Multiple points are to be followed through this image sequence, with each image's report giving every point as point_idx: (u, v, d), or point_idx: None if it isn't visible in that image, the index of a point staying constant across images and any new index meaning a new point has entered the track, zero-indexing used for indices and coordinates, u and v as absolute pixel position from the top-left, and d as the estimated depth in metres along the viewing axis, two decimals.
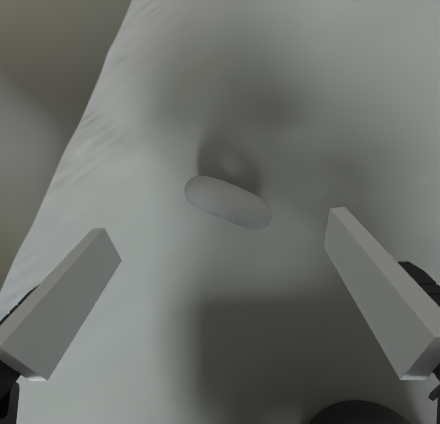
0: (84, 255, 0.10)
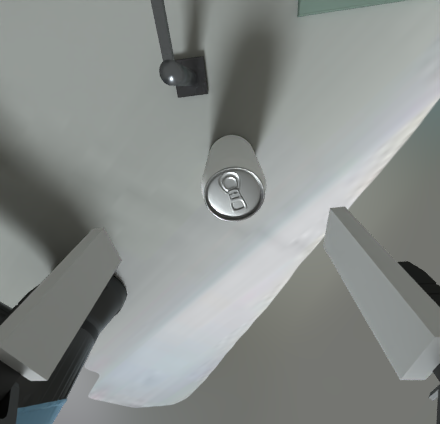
0: (84, 255, 0.10)
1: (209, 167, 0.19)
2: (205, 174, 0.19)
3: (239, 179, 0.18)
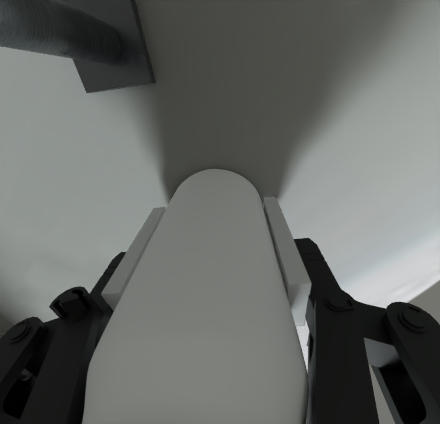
0: (155, 228, 0.12)
1: (102, 344, 0.05)
2: (90, 366, 0.05)
3: None
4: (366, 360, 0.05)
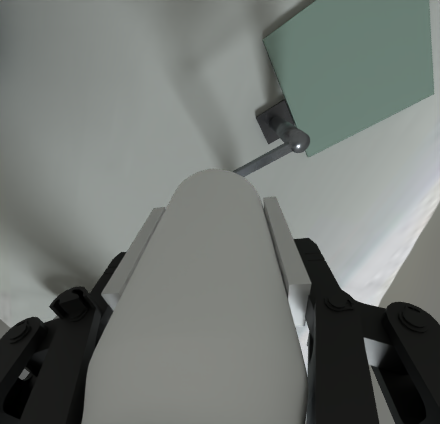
0: (155, 228, 0.12)
1: (101, 345, 0.05)
2: (89, 366, 0.05)
3: None
4: (366, 360, 0.05)
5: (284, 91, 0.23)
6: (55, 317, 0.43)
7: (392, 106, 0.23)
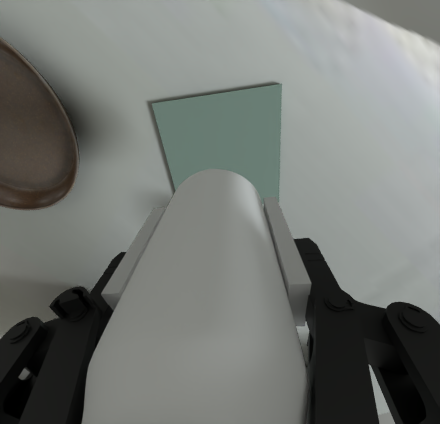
0: (155, 228, 0.12)
1: (101, 345, 0.05)
2: (89, 367, 0.05)
3: None
4: (366, 360, 0.05)
5: None
6: None
7: (272, 126, 0.23)
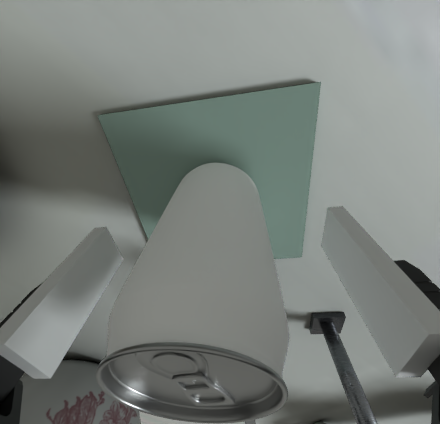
0: (86, 254, 0.10)
1: (121, 296, 0.06)
2: (111, 314, 0.07)
3: (203, 360, 0.05)
4: None
5: None
6: None
7: (298, 153, 0.14)
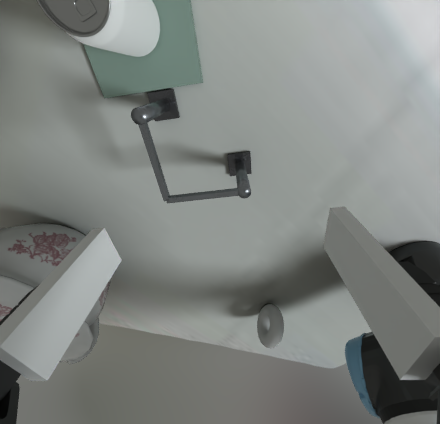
0: (84, 255, 0.10)
1: None
2: None
3: None
4: None
5: (140, 91, 0.28)
6: (257, 328, 0.54)
7: None
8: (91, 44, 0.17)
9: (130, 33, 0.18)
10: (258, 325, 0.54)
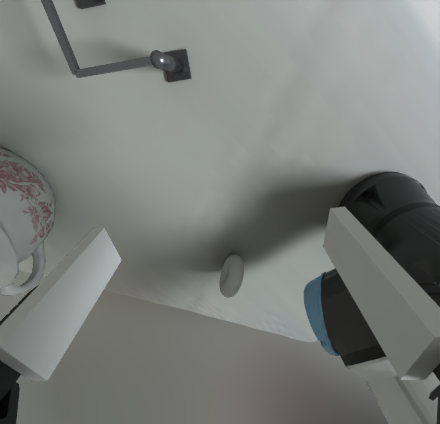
0: (84, 255, 0.10)
1: None
2: None
3: None
4: None
5: None
6: None
7: None
8: None
9: None
10: (220, 277, 0.51)
